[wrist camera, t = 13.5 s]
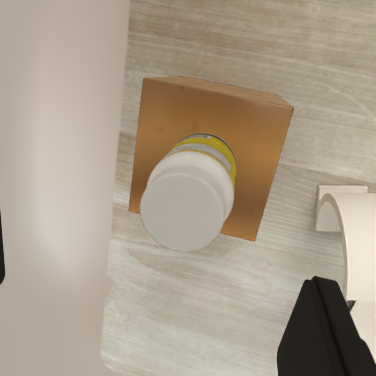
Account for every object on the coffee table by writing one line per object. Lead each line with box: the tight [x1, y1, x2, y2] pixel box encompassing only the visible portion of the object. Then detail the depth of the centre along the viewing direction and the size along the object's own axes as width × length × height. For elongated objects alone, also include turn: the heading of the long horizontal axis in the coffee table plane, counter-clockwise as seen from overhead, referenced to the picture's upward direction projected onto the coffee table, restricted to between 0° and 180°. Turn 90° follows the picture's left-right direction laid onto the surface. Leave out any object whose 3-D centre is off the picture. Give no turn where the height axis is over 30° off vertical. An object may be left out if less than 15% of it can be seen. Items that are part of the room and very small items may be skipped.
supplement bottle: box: [140, 133, 237, 252], centre depth 18 cm, size 5×5×8 cm
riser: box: [129, 76, 294, 241], centre depth 28 cm, size 10×10×12 cm
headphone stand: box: [315, 185, 376, 302], centre depth 28 cm, size 5×6×12 cm
